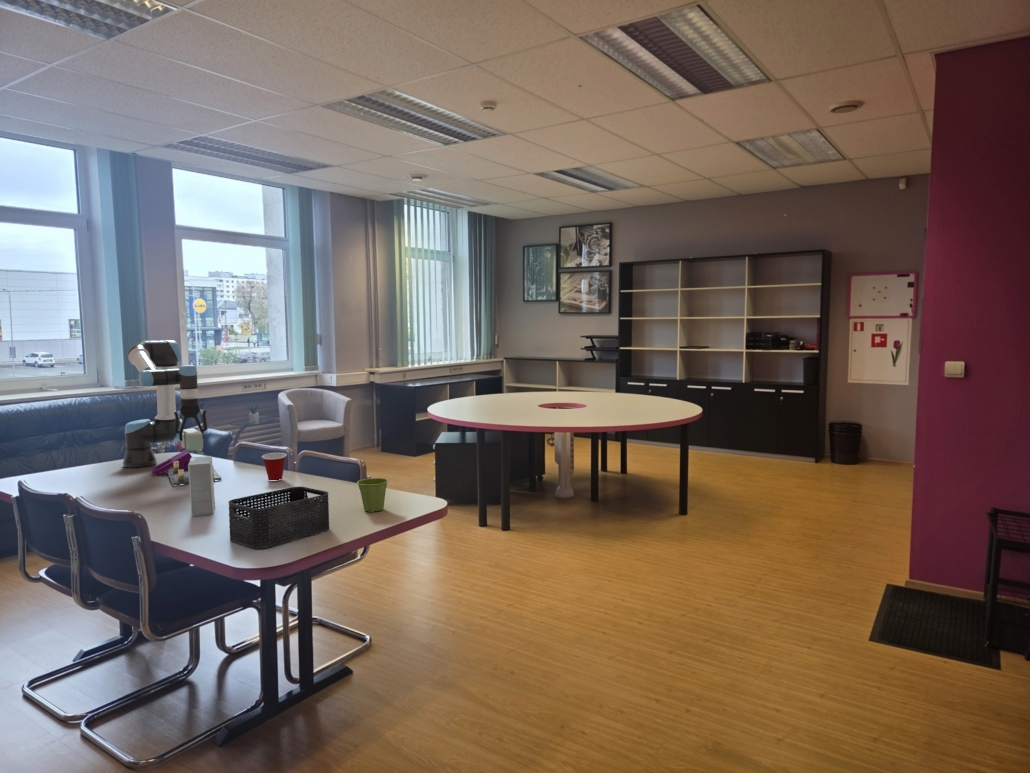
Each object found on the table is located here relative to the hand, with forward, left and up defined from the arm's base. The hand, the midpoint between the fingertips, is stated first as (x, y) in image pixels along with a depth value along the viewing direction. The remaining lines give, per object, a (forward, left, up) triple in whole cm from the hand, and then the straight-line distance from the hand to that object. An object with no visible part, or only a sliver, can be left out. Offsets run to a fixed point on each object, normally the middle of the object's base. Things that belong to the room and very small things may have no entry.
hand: (192, 446), depth 314 cm
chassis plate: (0, 0, -15) cm, 15 cm away
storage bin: (+116, +14, -15) cm, 118 cm away
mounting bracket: (-20, -7, -15) cm, 26 cm away
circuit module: (0, 0, 0) cm, 0 cm away
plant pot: (+104, +51, -15) cm, 117 cm away
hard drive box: (+68, -4, -15) cm, 70 cm away
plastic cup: (+29, +31, -15) cm, 45 cm away
